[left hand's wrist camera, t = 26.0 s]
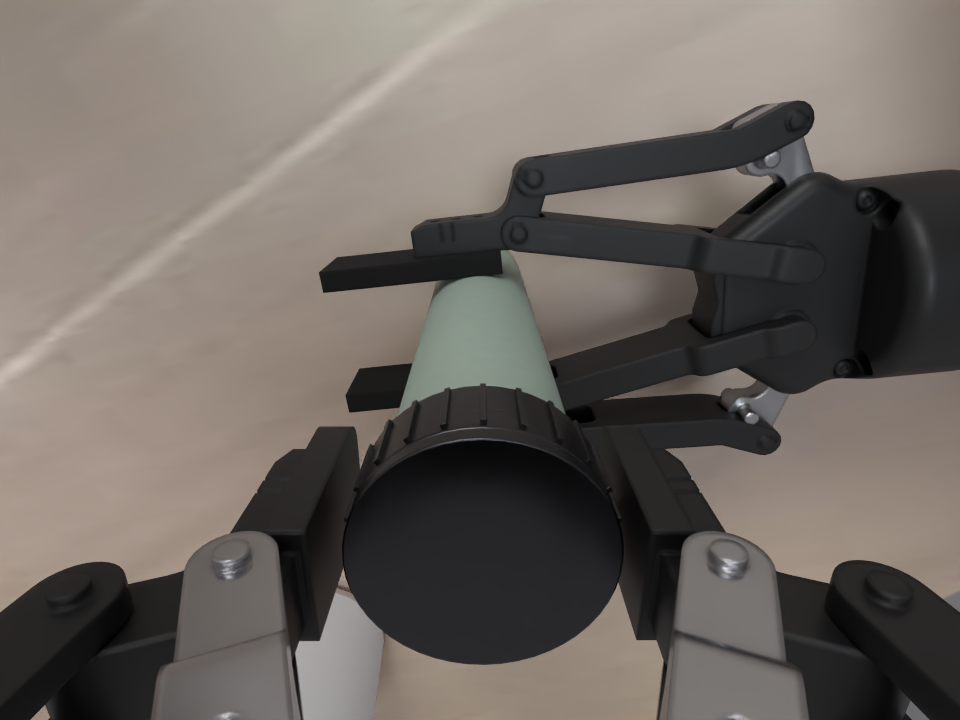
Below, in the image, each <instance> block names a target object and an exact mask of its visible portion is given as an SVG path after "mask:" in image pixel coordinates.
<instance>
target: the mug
mask: <svg viewBox="0 0 960 720" xmlns="http://www.w3.org/2000/svg"><path fill="white" fill-rule="evenodd" d="M384 638H385V637H384V632H383V631H382V630H381V629H379V628H378V627H377V626H376V625H375V624H374V623H373V622H372V621H371V620H370V619H369V618H368V617H367V615H366V614H365V613H364V611H363V610H362V609H361V608H360V606H359V605H358V603H357V601H356V600H355V598H354V596H353V594H352V593H350V592H347V591H344V590H341V589H339V588H337V589H336V592H335V595H334V598H333V601H332V604H331V607H330V611H329V614H328V617H327V620H326V623H325V626H324V629H323V633H322V636H321V639H320V641H299V644H298V647H297V649H296V652H295V655H296V661H297V667H298V674H299V682H300V691H301V699H302V707H303V716H304V720H373V718H374V711H375V703H376V696H377V688H378V681H379V674H380V666H381V659H382V652H383V645H384Z"/></svg>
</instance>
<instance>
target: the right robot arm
mask: <svg viewBox="0 0 960 720" xmlns="http://www.w3.org/2000/svg"><path fill="white" fill-rule="evenodd" d="M813 122H814V111H813V109H812V107H811V105H809V104H808V103H806V102H805V101H790V102H782V103H774V104H765V105H761V106H757V107H755V108H753V109H751V110H749V111H747V112H746V113H744V114H742V115H740V116H738V117H736V118H734V119H732V120H730V121H729V122H727V123H725V124H723V125H721V126H719V127H717V128H715V129H713V130H710V131H703V132H697V133H690V134H683V135H676V136H670V137H663V138H656V139H649V140H642V141H636V142H629V143H622V144H615V145H608V146H602V147H595V148H588V149H581V150H574V151H568V152H561V153H554V154H547V155H540V156H534V157H527V158H524V159H521V160H519V161H518V162H517V163H516V164H515V166H514V168H513V171H512V178H511V182H510V186H509V190H508V194H507V197H506V200H505V202H504V203H503V205H502V206H501V207H500V208H499V209H498V210H496V211H494V212H490V213H484V214H475V215H466V216H457V217H448V218H439V219H430V220H426V221H424V222H422V223H420V224H419V225H417V226H415V227H414V229H413V230H412V231H411V237H412V244H413V249H410V250H401V251H392V252H383V253H374V254H364V255H355V256H346V257H337V258H336V259H335V260H333V261H332V262H331V263H330V264H329V265H327V266H326V267H325V268H324V269H322V270H321V271H320V272H319V275H320V280H321V284H322V289H323V293H327V292H336V291H346V290H355V289H364V288H374V287H383V286H393V285H402V284H411V283H421V282H430V281H440V280H449V279H459V278H468V277H476V276H487V275H496V274H503V269H502V258H501V251H502V250H514V251H518V252H528V253H538V254H547V255H557V256H567V257H577V258H587V259H596V260H606V261H616V262H626V263H636V264H645V265H655V266H665V267H675V268H684V269H690V270H693V271H694V274H695V278H696V282H697V286H698V294H697V297H696V300H695V303H694V307H693V313H692V314H689V315H686V316H682V317H679V318H676V319H673V320H671V321H669V322H668V323H667V325H666V326H664V327H662V328H658V329H655V330H652V331H648V332H645V333H642V334H638V335H635V336H632V337H628V338H625V339H622V340H618V341H615V342H612V343H609V344H605V345H602V346H599V347H595V348H592V349H589V350H585V351H582V352H579V353H575V354H572V355H569V356H565V357H562V358H559V359H555V360H552V361H549V364H550V367H551V370H552V373H553V377H554V380H555V383H556V386H557V389H558V392H559V395H560V398H561V402H562V405H563V408H564V411H565V414H566V415H567V416H568V417H569V418H570V419H571V420H572V421H574V420H577V421H578V422H579V424H580V427H581V429H582V432H583V434H584V436H585V437H586V438H587V440H588V442H589V444H590V446H592V445H595V446H596V448H597V451H598V453H599V444H600V434H601V430H602V427H603V426H638V427H639V428H640V430H641V431H642V433H643V435H644V437H645V439H646V441H647V442H648V444H649V446H650V448H651V449H670V448H685V447H700V446H715V445H724V446H728V447H732V448H735V449H739V450H743V451H747V452H751V453H755V454H759V455H767V454H771V453H772V452H774V451H775V450H777V448H778V447H779V446H780V443H781V436H780V435H779V433H778V432H777V431H776V430H775V429H774V428H773V427H772V426H773V424H774V422H775V420H776V418H777V417H778V415H779V413H780V411H781V409H782V407H783V405H784V403H785V401H786V400H787V398H788V396H789V394H797V393H801V392H804V391H807V390H808V389H810V388H812V387H814V386H815V385H817V384H819V383H822V382H824V381H827V380H830V379H835V378H855V379H870V378H883V377H893V376H904V375H914V374H924V373H935V372H945V371H954V370H959V369H960V170H936V171H927V172H918V173H909V174H900V175H891V176H882V177H873V178H864V179H855V180H845V181H842V180H839V179H837V178H835V177H833V176H831V175H829V174H826V173H822V172H814V170H813V167H812V163H811V160H810V157H809V153H808V150H807V147H806V143H805V140H804V136H805V135H806V134H807V133H808V132H809V130H810V129H811V128H812V125H813ZM735 167H736V169H737V170H738V171H739V172H740V173H741V174H744V175H750V176H759V177H761V176H766V175H768V176H770V177H771V178H772V180H773V183H772V184H771V185H770V186H768V187H767V188H766V189H765V190H763V191H762V192H761V193H760V194H758V195H757V196H756V197H755V198H753V199H752V200H751V201H750V202H748V203H747V204H746V205H745V206H744V207H742V208H741V209H740V210H739V211H737V212H736V213H735V214H734V215H732V216H731V217H730V218H729V219H727V220H726V221H725V222H724V223H722V224H721V225H720V226H719V227H717V228H709V227H700V226H690V225H680V224H676V225H667V224H658V223H648V222H639V221H629V220H620V219H610V218H601V217H591V216H581V215H572V214H562V213H553V212H543V211H541V209H542V205H543V201H544V198H545V195H552V194H559V193H566V192H573V191H580V190H587V189H594V188H601V187H607V186H614V185H621V184H628V183H635V182H642V181H649V180H656V179H663V178H670V177H677V176H684V175H691V174H698V173H705V172H712V171H719V170H725V169H730V168H735ZM412 364H413V363H411V364H401V365H391V366H381V367H371V368H361V369H359V371H358V373H357V374H356V376H355V378H354V380H353V382H352V384H351V386H350V388H349V390H348V392H347V394H346V400H347V404H348V409H349V413H350V412H360V411H370V410H380V409H390V408H400V405H401V401H402V398H403V395H404V391H405V388H406V384H407V381H408V378H409V374H410V371H411V368H412ZM733 368H738V369H739V370H741V371H743V372H744V373H746V374H748V375H750V376H751V377H753V378H755V379H756V381H755V383H754V384H752V385H751V386H749V387H747V388H735V389H731V388H726V389H724V390H723V391H722V393H721V397H720V396H716V395H709V394H683V395H669V396H654V397H640V398H626V399H611V400H603V399H606V398H610V397H613V396H617V395H620V394H624V393H627V392H631V391H634V390H637V389H641V388H644V387H648V386H651V385H655V384H658V383H662V382H665V381H669V380H672V379H675V378H679V377H682V376H686V375H698V376H707V375H712V374H715V373H719V372H722V371H726V370H729V369H733Z"/></svg>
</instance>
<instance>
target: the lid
mask: <svg viewBox="0 0 960 720" xmlns="http://www.w3.org/2000/svg"><path fill="white" fill-rule="evenodd" d="M612 492H613V490H612V487H611V484H610V482H609V479H608V477H607V474H606V471H605V469H604V466H603V464H602V461H601V458H600V456H599V453H598V451H597V448H596V446H595V445H592V446H590V444H589V442H588V440H587V438H586V437H585V436H584V434H583V432H582V429H581V427H580V424H579V422H578V421H577V420H574V421H572V420H571V419H570V418H569V417H568V416H567V415H565V414H564V413H563V412H562V411H560V410H559V409H558V408H556V407H555V406H554V403H553V402H552V401H550V400H548V402H546V401H545V400H542V399H540V398H538V397H536V396H533V395H531V394H528V393H525V392H522V389H521V388H517V387H516V389H510V388H504V387H498V386H486V383H480V386H468V387H460V388H455V389H450V387H448V388H445V389H444V391H443V392H440V393H437V394H434V395H431V396H429V397H427V398H425V399H423V400H421V401H419V402H418V401H417V400H415V401H413V402H412V404H411V407H409V408H407V409H406V410H404V411H403V412H402V413H401V414H400V415H398V416H397V417H396V418H395V419H394V420H393V421H391V420H390V419H389V420H388V421H387V422H386V425H385V428H384V431H383V432H382V434H381V435H380V437H379V438H378V440H377V441H376V443H375V445H371V444H370V446H369V448H368V450H367V453H366V456H365V459H364V461H363V464H362V467H361V470H360V472H359V475H358V478H357V481H356V484H355V486H354V489H353V494H352V497H351V500H350V503H349V505H348V508H347V511H346V514H345V517H344V522H346V526H345V529H344V533H343V542H342V562H343V567H344V572H345V576H346V580H347V582H348V585H349V587H350V590H351V592H352V594H353V596H354V598H355V600H356V601H357V603H358V605H359V606H360V608H361V609H362V610H363V611H364V613H365V614H366V615H367V617H368V618H369V619H370V620H371V621H372V622H373V623H374V624H375V625H376V626H377V627H378V628H379V629H381V630H382V631H383V632H384V633H386V634H387V635H388V636H390V637H391V638H393V639H394V640H396V641H397V642H399V643H401V644H402V645H404V646H406V647H408V648H410V649H412V650H415V651H417V652H419V653H422V654H424V655H427V656H430V657H433V658H437V659H441V660H445V661H449V662H456V663H463V664H479V665H488V664H502V663H509V662H515V661H520V660H524V659H528V658H531V657H535V656H538V655H540V654H543V653H546V652H548V651H551V650H553V649H555V648H557V647H559V646H561V645H563V644H564V643H566V642H568V641H569V640H571V639H572V638H574V637H575V636H577V635H578V634H579V633H581V632H582V631H583V630H584V629H585V628H587V627H588V626H589V625H590V624H591V623H592V622H593V621H594V620H595V619H596V618H597V617H598V616H599V615H600V613H601V612H602V611H603V609H604V608H605V606H606V605H607V604H608V602H609V600H610V599H611V597H612V595H613V593H614V591H615V589H616V586H617V584H618V581H619V578H620V575H621V570H622V565H623V559H624V541H623V535H622V528H621V525H620V523H621V522H622V519H621V515H620V513H619V510H618V507H617V505H616V502H615V500H614V497H613V494H612Z"/></svg>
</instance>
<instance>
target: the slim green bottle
mask: <svg viewBox="0 0 960 720" xmlns="http://www.w3.org/2000/svg"><path fill="white" fill-rule="evenodd" d="M501 258H502V269H503V274H496V275H487V276H476V277H468V278H459V279H449V280H440V281H437V283H436V286H435V290H434V293H433V296H432V300H431V303H430V307H429V310H428V313H427V317H426V320H425V323H424V327H423V330H422V334H421V337H420V340H419V344H418V347H417V351H416V354H415V357H414V361H413V364H412V368H411V371H410V374H409V378H408V381H407V384H406V388H405V391H404V395H403V398H402V401H401V405H400V408H399V412H398V415H400V414H401V413H402V412H403V411H404V410H406V409H407V408H409V407H411V404H412V402H413V401H415V400H417V401H418V402H419V401H421V400H423V399H425V398H427V397H429V396H431V395H434V394H437V393H440V392H443V391H444V389H445V388H448V387H450V389H455V388H460V387H468V386H480V383H486V386H498V387H504V388H510V389H516V387H517V388H521V389H522V392H525V393H528V394H531V395H533V396H536V397H538V398H540V399H542V400H545V401H546V402H548V400H550V401H552V402H553V403H554V406H555V407H556V408H558V409H559V410H560V411H562V412H563V413H564V414H565V411H564V408H563V405H562V402H561V398H560V395H559V392H558V389H557V386H556V383H555V380H554V377H553V373H552V370H551V367H550V364H549V361H548V358H547V355H546V351H545V348H544V345H543V342H542V339H541V336H540V333H539V330H538V326H537V323H536V320H535V317H534V314H533V311H532V308H531V305H530V301H529V298H528V295H527V292H526V289H525V286H524V283H523V280H522V276H521V273H520V270H519V267H518V265H517V263H516V261H515V259H514V258H513V257H512V255H511V254H510V253H509V252H508V251H507V250H502V251H501ZM398 415H397V416H398ZM565 415H566V414H565Z"/></svg>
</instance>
